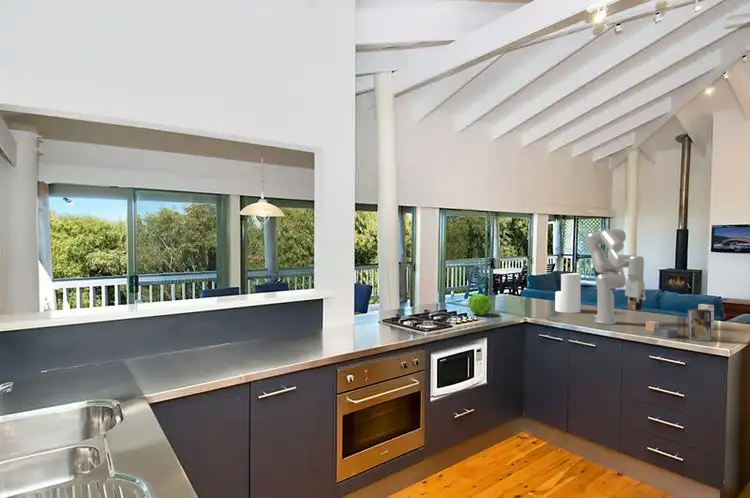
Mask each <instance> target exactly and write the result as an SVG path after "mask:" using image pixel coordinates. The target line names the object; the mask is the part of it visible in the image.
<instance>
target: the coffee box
mask: <svg viewBox="0 0 750 498" xmlns="http://www.w3.org/2000/svg"><path fill="white" fill-rule="evenodd" d="M687 338H688V339H690V340H691V341H705V342H706V341H707V342H711V341H712V329H711V311H710V310H707V309H698V308H687Z"/></svg>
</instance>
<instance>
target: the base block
mask: <svg viewBox="0 0 750 498" xmlns="http://www.w3.org/2000/svg"><path fill="white" fill-rule="evenodd" d="M653 335H654V336H657V337H662V338H666V339H669V337H670V338H677V337H679V331H678V329H674V328H669V327H664V326H661V327H659V328H654V331H653Z"/></svg>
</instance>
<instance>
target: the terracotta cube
mask: <svg viewBox="0 0 750 498" xmlns="http://www.w3.org/2000/svg"><path fill="white" fill-rule="evenodd" d="M654 328H660V322H658V321H652V320H648V321H645V331H648V332H649V331H650V332H654Z"/></svg>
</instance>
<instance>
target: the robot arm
mask: <svg viewBox="0 0 750 498" xmlns="http://www.w3.org/2000/svg"><path fill="white" fill-rule="evenodd" d="M626 237H627V234H626V232H625V231H624V230H623V229H612V228H611V229H608V228H607V229H604V230H602V231H593V232H589V233H588V234H586V237H585V245H586V248H587V249H588V250H587V251H588V252H589V254H590V257H591V261H592V264H593V266H594V270H595V272H597V273H599V274H598V275H597V276H596V278H595V283H596V289H597V299H596V300H597V301H596V303H597V304H596V305H597V308H596V309H597V314H595V315H593V316H594V318H595V319H594V323H597V324H603V325H615V324H617V320H615V294H614V292H613V290H611V289H622V288H625V290H624V296H625V298H626V300H627V301H628V300H634V299H635V300H637V303H636V310H637V311H642V310H643V303H644V301H646V300H647V297H646V286H645V280H644V266H645V259H644V257H643V256H642V255H641V256H638V255H636V254H635V255H634V254H618V253H620V252H621V251H622V250H623V249H624V242H625V240H626V239H627V238H626ZM601 245H603V246H606V247H607V248H608V250H607V255H606V252H605V250H604V249H603V248H602V246H601ZM623 268H625V269H626V268H628V271H627V272H628V273H627V277H628V279H626V276H625V275H626V274H625V272H624V269H623ZM641 309H642V310H641Z"/></svg>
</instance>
